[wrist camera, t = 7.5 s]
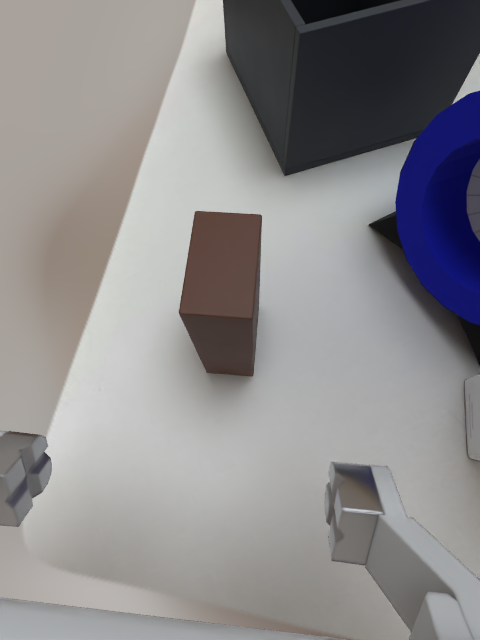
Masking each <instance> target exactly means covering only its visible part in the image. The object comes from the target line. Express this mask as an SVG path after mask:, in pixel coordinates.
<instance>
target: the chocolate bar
mask: <svg viewBox="0 0 480 640" xmlns="http://www.w3.org/2000/svg"><path fill="white" fill-rule="evenodd" d="M261 226H262V216H261V215H257V214H239V213H222V212H204V211H196V212H195V215H194V221H193V228H192V234H191V240H190V246H189V253H188V259H187V265H186V271H185V278H184V284H183V290H182V296H181V303H180V309H179V314H180V317H181V319H182V321H183V323H184V325H185V327H186V329H187V331H188V333H189V336H190V338H191V340H192V342H193V344H194V346H195V348H196V350H197V353H198V355H199V357H200V359H201V361H202V363H203V365H204V367H205V369H206V372H207V373H219V374H232V375H244V376H253V373H254V360H255V348H256V335H257V323H258V310H259V287H260V257H261Z"/></svg>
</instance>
